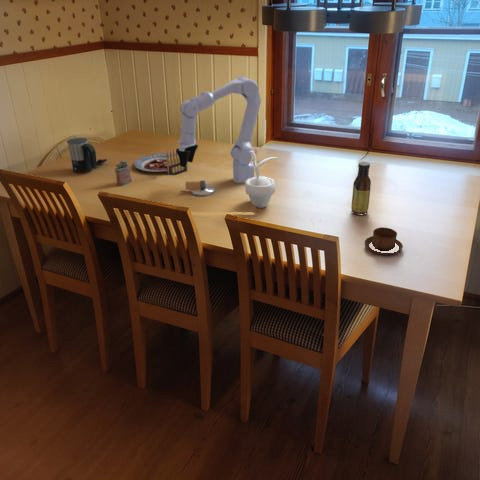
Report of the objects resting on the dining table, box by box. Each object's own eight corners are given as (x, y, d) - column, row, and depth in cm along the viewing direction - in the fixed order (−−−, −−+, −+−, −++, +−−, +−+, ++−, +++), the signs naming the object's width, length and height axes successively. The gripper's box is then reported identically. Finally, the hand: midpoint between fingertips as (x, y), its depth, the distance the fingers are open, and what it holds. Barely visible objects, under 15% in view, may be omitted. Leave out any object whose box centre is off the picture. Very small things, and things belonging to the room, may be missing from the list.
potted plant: (243, 210, 185) (242, 147, 174) (247, 198, 196) (246, 138, 184) (276, 211, 184) (277, 148, 172) (278, 200, 194) (279, 139, 182)
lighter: (127, 179, 216) (125, 158, 212) (133, 181, 215) (130, 159, 210) (115, 185, 210) (112, 163, 206) (120, 186, 209) (117, 165, 204)
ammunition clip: (169, 177, 219) (167, 151, 213) (167, 176, 220) (164, 150, 214) (187, 171, 226) (185, 146, 220) (184, 170, 227) (183, 145, 221)
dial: (215, 186, 204) (215, 177, 202) (214, 196, 196) (213, 185, 194) (187, 187, 205) (186, 177, 203) (184, 196, 196) (184, 186, 194)
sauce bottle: (355, 208, 186) (361, 158, 177) (370, 212, 182) (376, 162, 173) (347, 213, 182) (352, 163, 172) (362, 218, 178) (368, 167, 169)
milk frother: (68, 173, 225) (62, 142, 218) (84, 162, 239) (79, 133, 232) (97, 174, 223) (92, 143, 216) (111, 163, 236) (106, 134, 229)
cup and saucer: (400, 261, 150) (402, 243, 148) (361, 254, 154) (363, 237, 152) (403, 244, 160) (406, 227, 157) (366, 238, 164) (369, 222, 161)
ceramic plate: (180, 176, 220) (179, 170, 218) (126, 174, 224) (126, 168, 222) (193, 158, 242) (193, 153, 241) (145, 156, 246) (144, 151, 245)
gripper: (184, 126, 200) (183, 158, 206) (172, 133, 187) (171, 167, 193) (200, 129, 199) (199, 160, 204) (189, 136, 186) (187, 170, 192)
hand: (186, 164), depth 199 cm, fingers open, 7 cm apart
